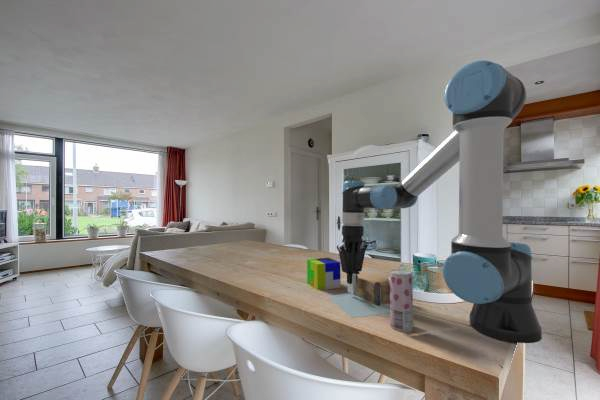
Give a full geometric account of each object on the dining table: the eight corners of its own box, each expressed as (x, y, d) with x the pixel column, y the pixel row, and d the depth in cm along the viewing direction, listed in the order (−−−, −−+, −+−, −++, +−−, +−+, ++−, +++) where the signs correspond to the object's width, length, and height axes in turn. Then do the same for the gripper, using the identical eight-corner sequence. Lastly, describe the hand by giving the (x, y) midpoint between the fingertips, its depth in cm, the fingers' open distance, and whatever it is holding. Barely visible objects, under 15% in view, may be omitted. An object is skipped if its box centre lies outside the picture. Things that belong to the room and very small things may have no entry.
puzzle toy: (340, 287, 110) (340, 262, 110) (317, 290, 106) (317, 264, 106) (328, 281, 119) (328, 257, 119) (307, 283, 116) (307, 259, 116)
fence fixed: (400, 300, 93) (400, 280, 93) (403, 301, 92) (403, 281, 92) (380, 302, 91) (380, 282, 91) (383, 304, 89) (383, 283, 90)
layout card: (417, 310, 86) (417, 309, 86) (352, 319, 80) (352, 317, 80) (382, 291, 105) (382, 289, 105) (326, 296, 99) (326, 295, 99)
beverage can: (407, 323, 77) (406, 268, 77) (417, 333, 71) (416, 274, 71) (387, 323, 76) (386, 269, 77) (395, 333, 71) (394, 274, 71)
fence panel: (381, 305, 89) (381, 283, 90) (377, 306, 89) (377, 284, 89) (356, 293, 101) (355, 274, 101) (352, 294, 100) (351, 274, 101)
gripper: (346, 225, 91) (345, 298, 91) (373, 225, 98) (372, 292, 98) (331, 224, 98) (330, 292, 97) (358, 224, 105) (357, 287, 104)
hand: (351, 292), depth 97 cm, fingers closed
